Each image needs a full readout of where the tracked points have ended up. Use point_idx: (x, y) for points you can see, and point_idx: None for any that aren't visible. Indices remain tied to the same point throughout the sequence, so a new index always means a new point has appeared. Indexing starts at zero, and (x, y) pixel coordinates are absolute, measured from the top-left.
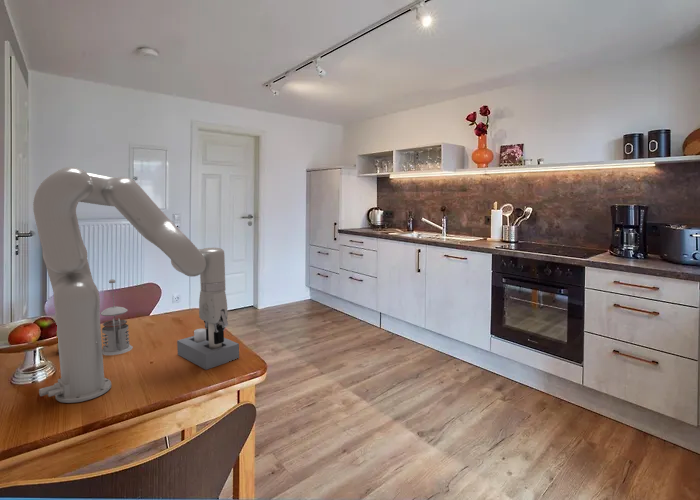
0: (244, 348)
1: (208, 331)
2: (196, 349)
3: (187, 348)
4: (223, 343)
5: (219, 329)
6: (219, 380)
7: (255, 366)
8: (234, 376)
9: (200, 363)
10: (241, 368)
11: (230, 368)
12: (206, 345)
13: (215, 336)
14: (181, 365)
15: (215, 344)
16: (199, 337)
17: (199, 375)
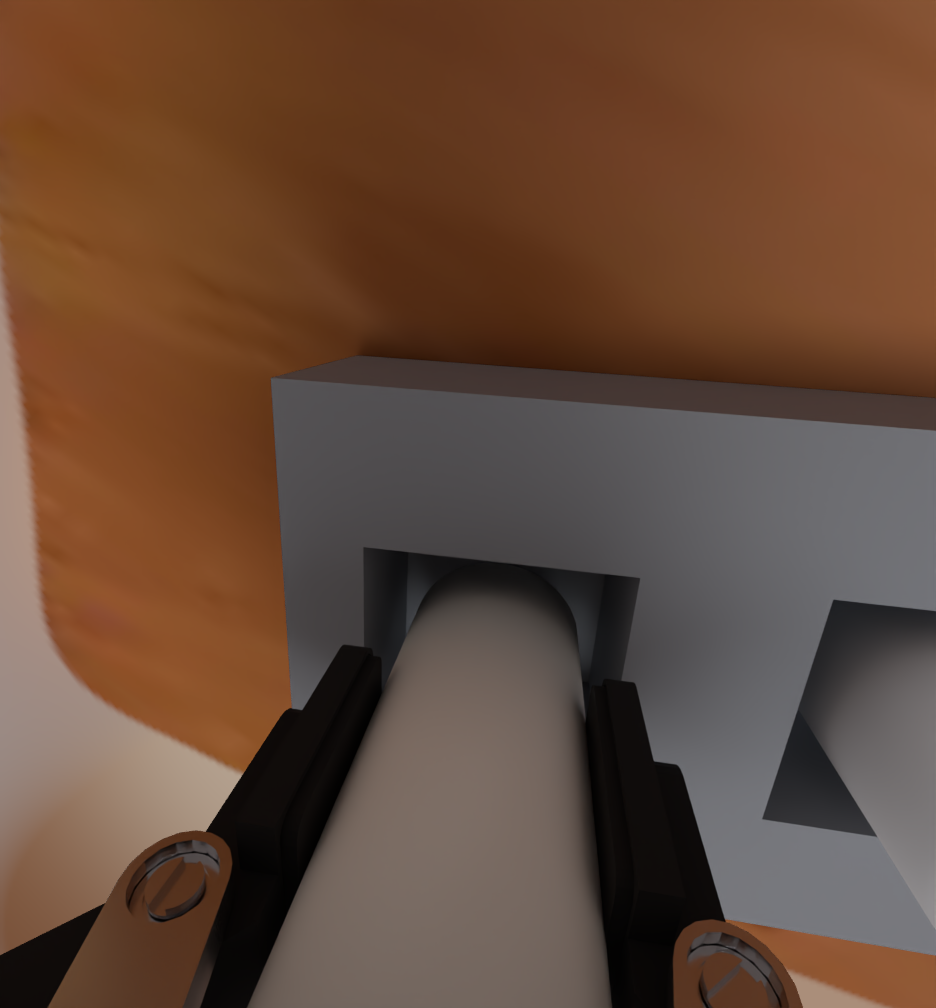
0: None
1: (517, 829)
2: (582, 415)
3: (876, 416)
4: None
5: (42, 948)
6: (36, 289)
7: (113, 668)
8: (36, 438)
9: (468, 368)
10: (151, 582)
11: (216, 527)
12: (629, 627)
13: (283, 752)
14: (722, 234)
15: (397, 660)
16: (915, 719)
17: (280, 216)
